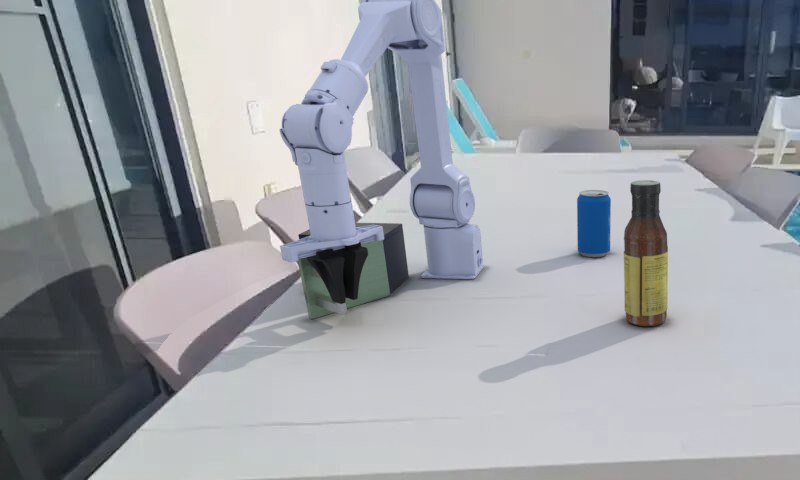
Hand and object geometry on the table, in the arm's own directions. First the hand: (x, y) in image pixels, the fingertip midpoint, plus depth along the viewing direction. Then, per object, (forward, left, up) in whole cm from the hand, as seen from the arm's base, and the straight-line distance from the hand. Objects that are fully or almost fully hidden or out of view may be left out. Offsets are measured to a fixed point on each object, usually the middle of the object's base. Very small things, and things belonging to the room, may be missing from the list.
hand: (345, 300), depth 89 cm
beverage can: (-32, -41, -4) cm, 53 cm away
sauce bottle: (-42, -5, -4) cm, 43 cm away
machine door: (0, -6, -4) cm, 7 cm away
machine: (+6, -18, -4) cm, 20 cm away
